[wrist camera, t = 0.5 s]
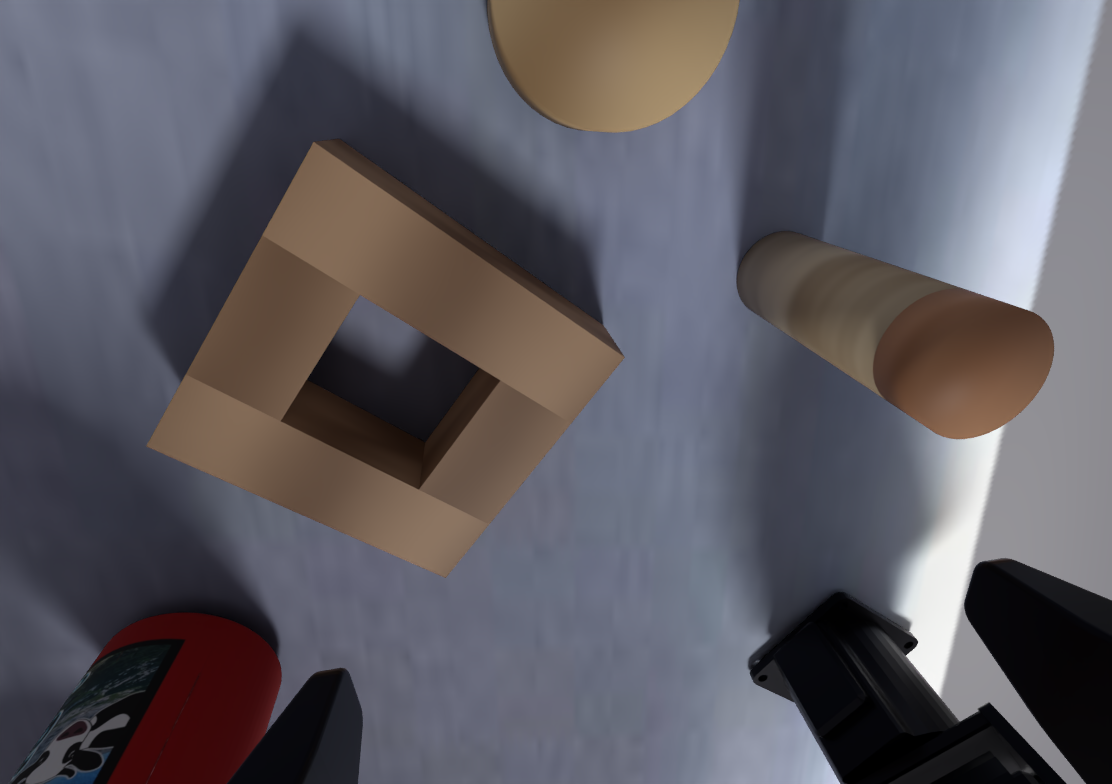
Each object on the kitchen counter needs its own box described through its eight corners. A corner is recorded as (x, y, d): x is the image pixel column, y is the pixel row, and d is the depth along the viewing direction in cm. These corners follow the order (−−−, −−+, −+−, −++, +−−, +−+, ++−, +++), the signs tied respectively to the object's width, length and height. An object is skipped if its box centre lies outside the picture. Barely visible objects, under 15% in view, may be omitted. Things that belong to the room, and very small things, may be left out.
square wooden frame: (603, 325, 20) (624, 357, 17) (448, 523, 23) (445, 577, 20) (339, 138, 16) (313, 141, 14) (191, 400, 19) (146, 446, 16)
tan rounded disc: (737, -7, 16) (791, -33, 14) (608, 172, 18) (633, 181, 15) (575, -187, 14) (600, -259, 11) (444, 36, 16) (440, 18, 13)
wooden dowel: (834, 264, 20) (1078, 359, 12) (775, 330, 21) (967, 461, 13) (779, 213, 19) (1007, 279, 11) (719, 284, 20) (891, 395, 12)
